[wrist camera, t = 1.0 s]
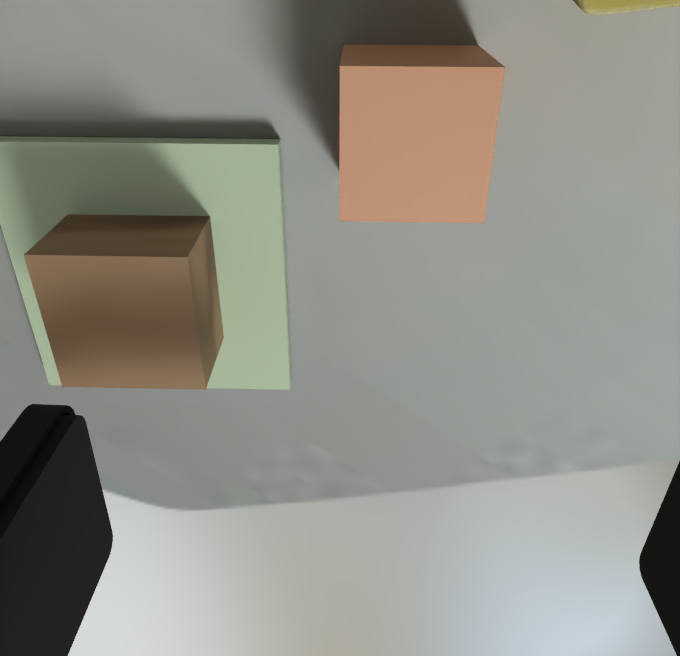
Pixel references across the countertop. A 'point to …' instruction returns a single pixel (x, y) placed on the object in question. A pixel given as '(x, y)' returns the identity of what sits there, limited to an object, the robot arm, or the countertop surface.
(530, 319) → the countertop surface
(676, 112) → the countertop surface
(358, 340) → the countertop surface
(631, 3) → the flower pot
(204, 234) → the base block
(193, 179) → the plate
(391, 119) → the cube
